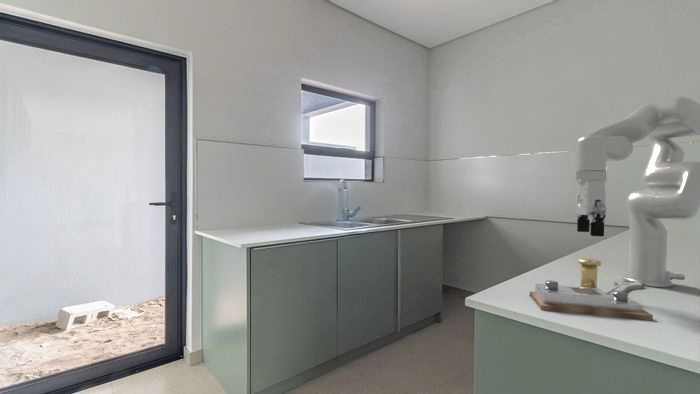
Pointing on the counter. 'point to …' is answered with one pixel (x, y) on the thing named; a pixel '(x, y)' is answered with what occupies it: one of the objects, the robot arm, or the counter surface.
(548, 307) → the board
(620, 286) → the adjustable wrench
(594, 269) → the bolt
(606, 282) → the counter surface
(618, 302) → the metal plate with bolts
